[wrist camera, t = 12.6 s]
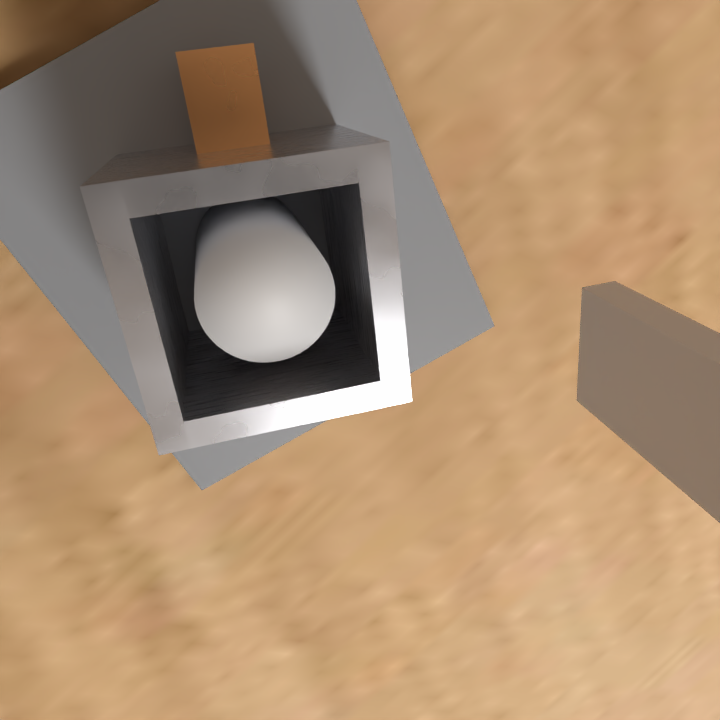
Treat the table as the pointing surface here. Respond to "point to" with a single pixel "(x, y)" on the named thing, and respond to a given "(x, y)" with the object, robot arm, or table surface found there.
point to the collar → (234, 184)
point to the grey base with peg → (232, 220)
